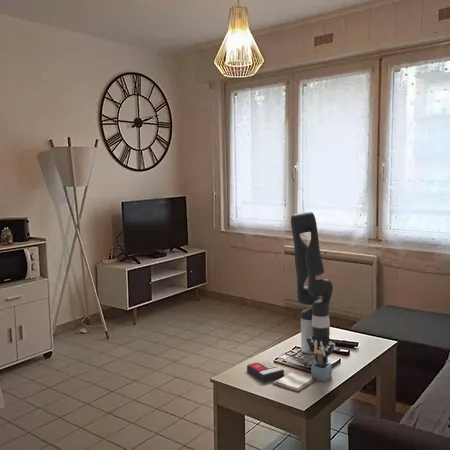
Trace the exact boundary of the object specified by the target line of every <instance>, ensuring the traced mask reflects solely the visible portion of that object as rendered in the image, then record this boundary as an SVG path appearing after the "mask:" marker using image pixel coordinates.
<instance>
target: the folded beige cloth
mask: <svg viewBox="0 0 450 450" xmlns="http://www.w3.org/2000/svg"><path fill="white" fill-rule="evenodd" d="M316 381H317V380H316V379H314V378H311V376H310V377H309V376H306V375H303V374H299V373H296V372H293V371H290V372H288V373H286V374H284V376H283V377H281V378H279V379H277V380H273V381H272V385H273V386H276V387H280V388H283V389H285V390H289V391H292V392H295V393H299V392H301V391H302V390H304V389H306V388H308V387H309V386H310V385H312V384H313V383H315V382H316Z"/></svg>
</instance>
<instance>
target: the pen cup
mask: <svg viewBox="0 0 450 450" xmlns="http://www.w3.org/2000/svg"><path fill="white" fill-rule="evenodd" d="M310 370H311V372H310V373H311V375H310V378H314V379H316V381H318V382H322V383H325V382H328V381H329V380H330V379H331V378H332V364H331V363H328V362H327V363H326V364H325V368H320V367H318V363H317V362H316V361H315V363H313V364H311V367H310Z"/></svg>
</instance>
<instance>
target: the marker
mask: <svg viewBox="0 0 450 450" xmlns="http://www.w3.org/2000/svg"><path fill="white" fill-rule="evenodd" d="M317 363H318V367H320V368H325V364H323V352H322V350H321V348H319V349H317Z"/></svg>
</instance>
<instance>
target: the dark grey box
mask: <svg viewBox="0 0 450 450" xmlns="http://www.w3.org/2000/svg"><path fill="white" fill-rule="evenodd" d="M246 371H247V372H248V373H249V374H250V375H252V376H253V377H255V378H256V379H258V380H259V381H260V382H261V383H263V384H265V383H269V382H274V381H276V380H278V379H279V378H281V377H283V376H284V375H285V370H284V369H283V368H281V367H279V366H278V365H276V364H274V363H273V362H271V361H268V360H262V361H258V362H253V363H249V364H247V366H246Z"/></svg>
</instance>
